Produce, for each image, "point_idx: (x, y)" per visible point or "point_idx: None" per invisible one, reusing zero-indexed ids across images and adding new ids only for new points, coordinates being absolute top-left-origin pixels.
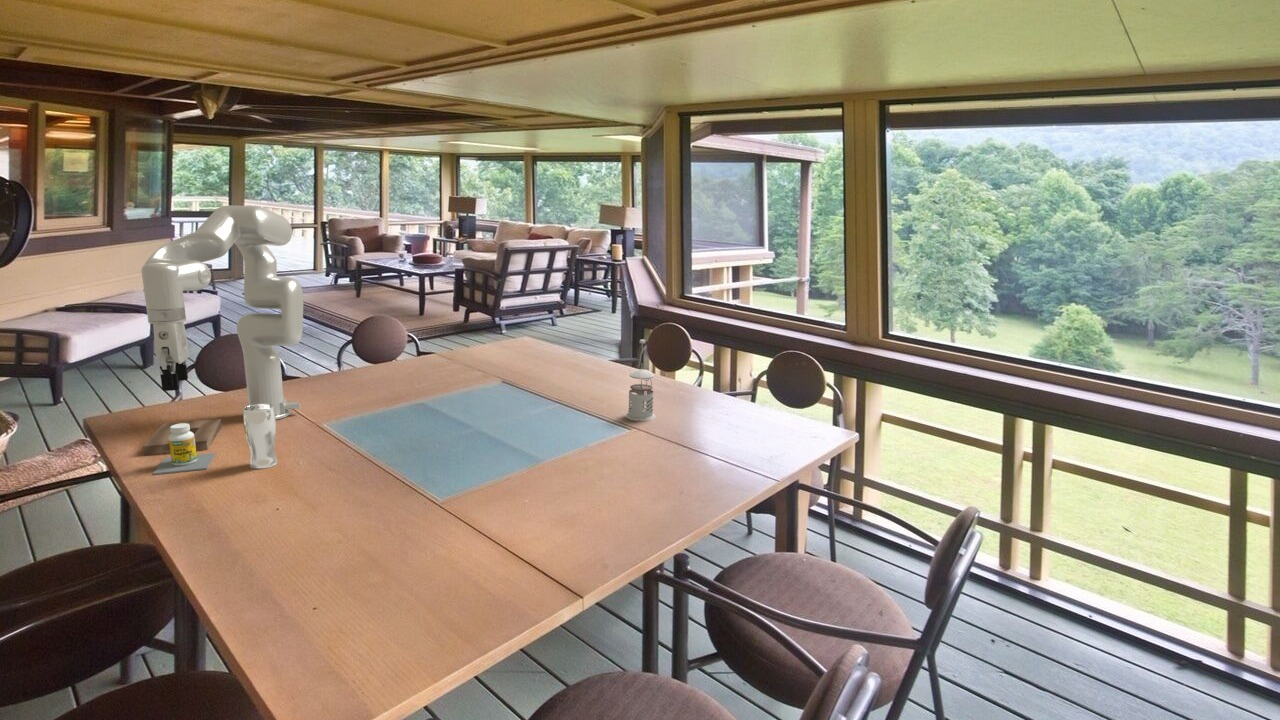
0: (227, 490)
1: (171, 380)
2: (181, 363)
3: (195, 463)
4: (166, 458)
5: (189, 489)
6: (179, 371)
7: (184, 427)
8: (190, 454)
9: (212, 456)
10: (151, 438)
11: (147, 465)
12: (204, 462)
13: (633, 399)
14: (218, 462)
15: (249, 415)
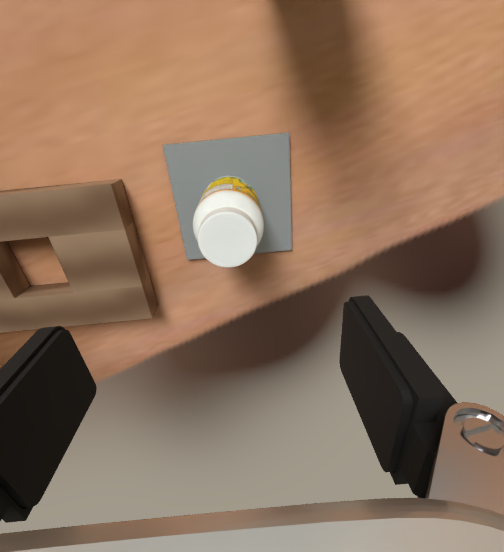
0: (489, 12)
1: (427, 372)
2: (416, 500)
3: (244, 174)
4: (193, 254)
5: (426, 133)
6: (42, 416)
7: (247, 220)
8: (249, 188)
9: (193, 143)
10: (93, 321)
11: (224, 279)
12: (241, 151)
13: None
14: (234, 114)
15: None
